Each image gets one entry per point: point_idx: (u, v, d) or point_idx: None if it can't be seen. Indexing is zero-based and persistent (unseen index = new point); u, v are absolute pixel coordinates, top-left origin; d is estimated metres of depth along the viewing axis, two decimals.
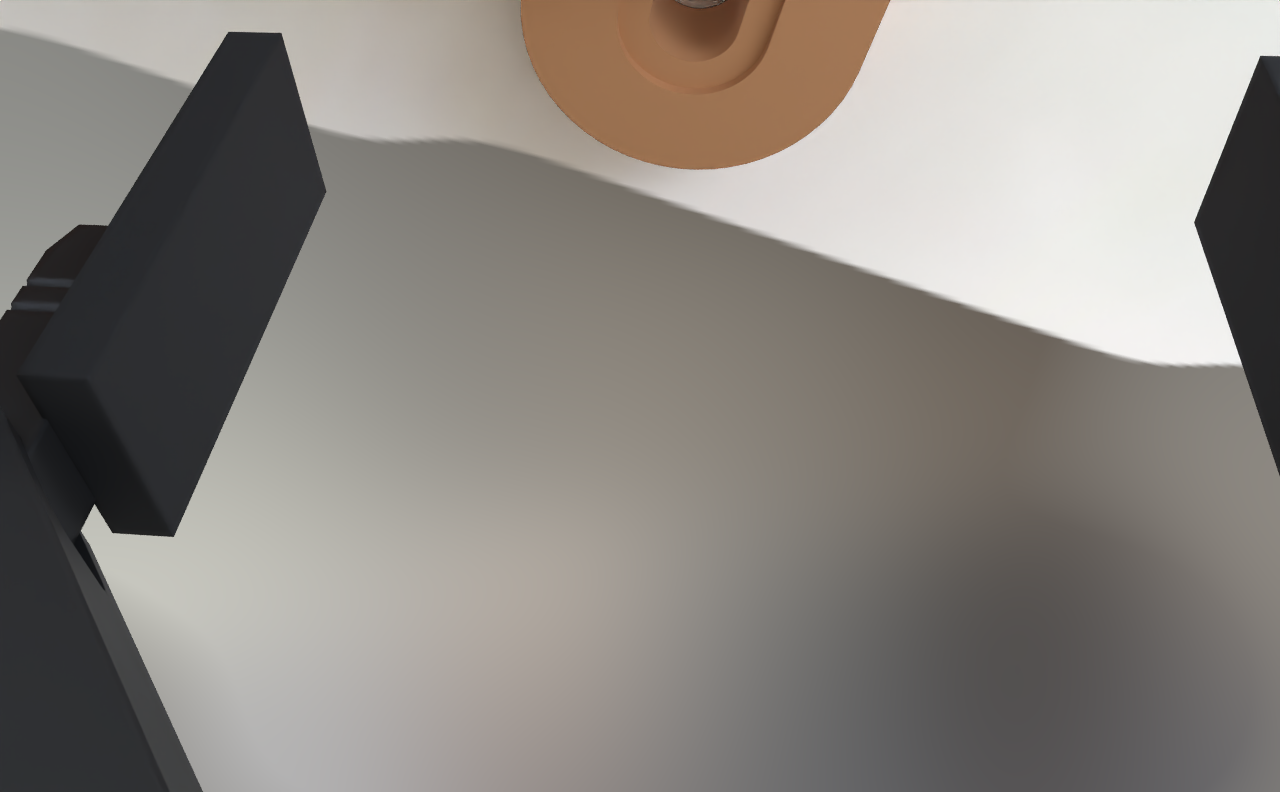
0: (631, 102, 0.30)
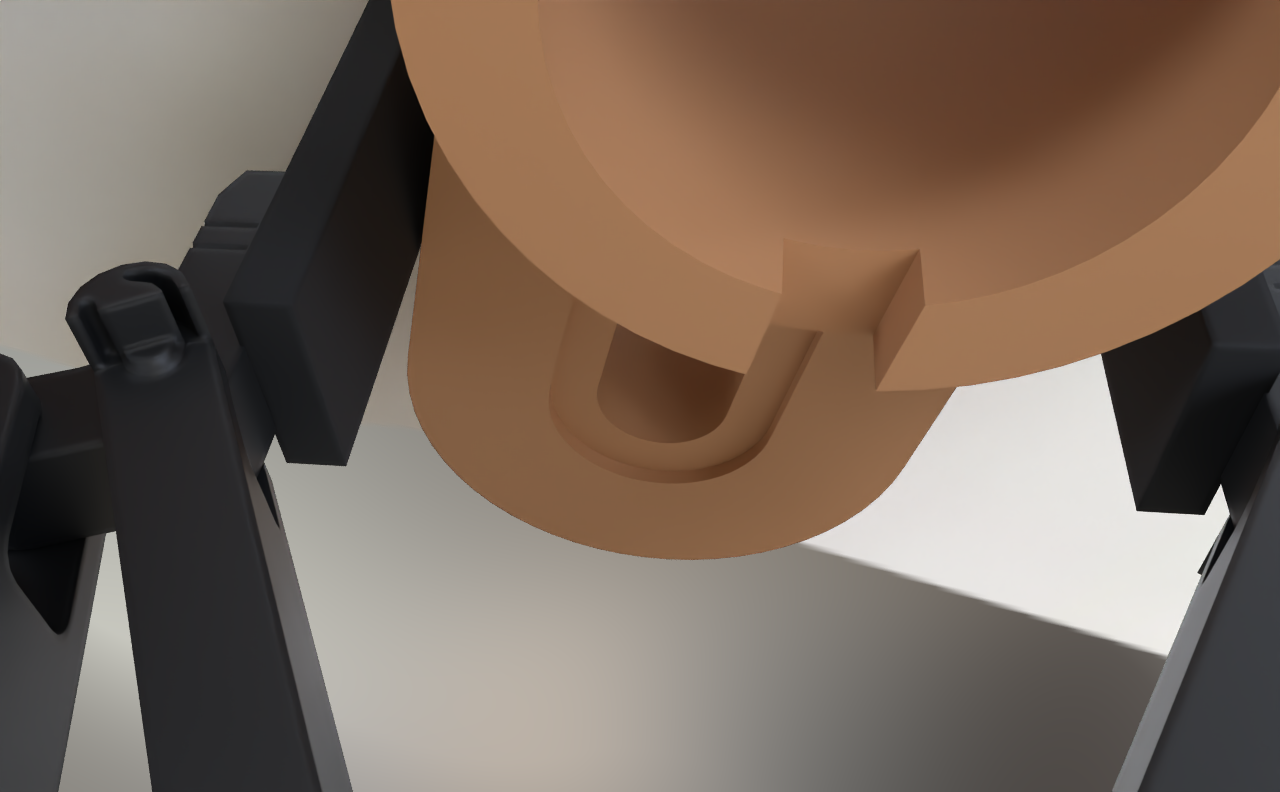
0: (576, 488, 0.21)
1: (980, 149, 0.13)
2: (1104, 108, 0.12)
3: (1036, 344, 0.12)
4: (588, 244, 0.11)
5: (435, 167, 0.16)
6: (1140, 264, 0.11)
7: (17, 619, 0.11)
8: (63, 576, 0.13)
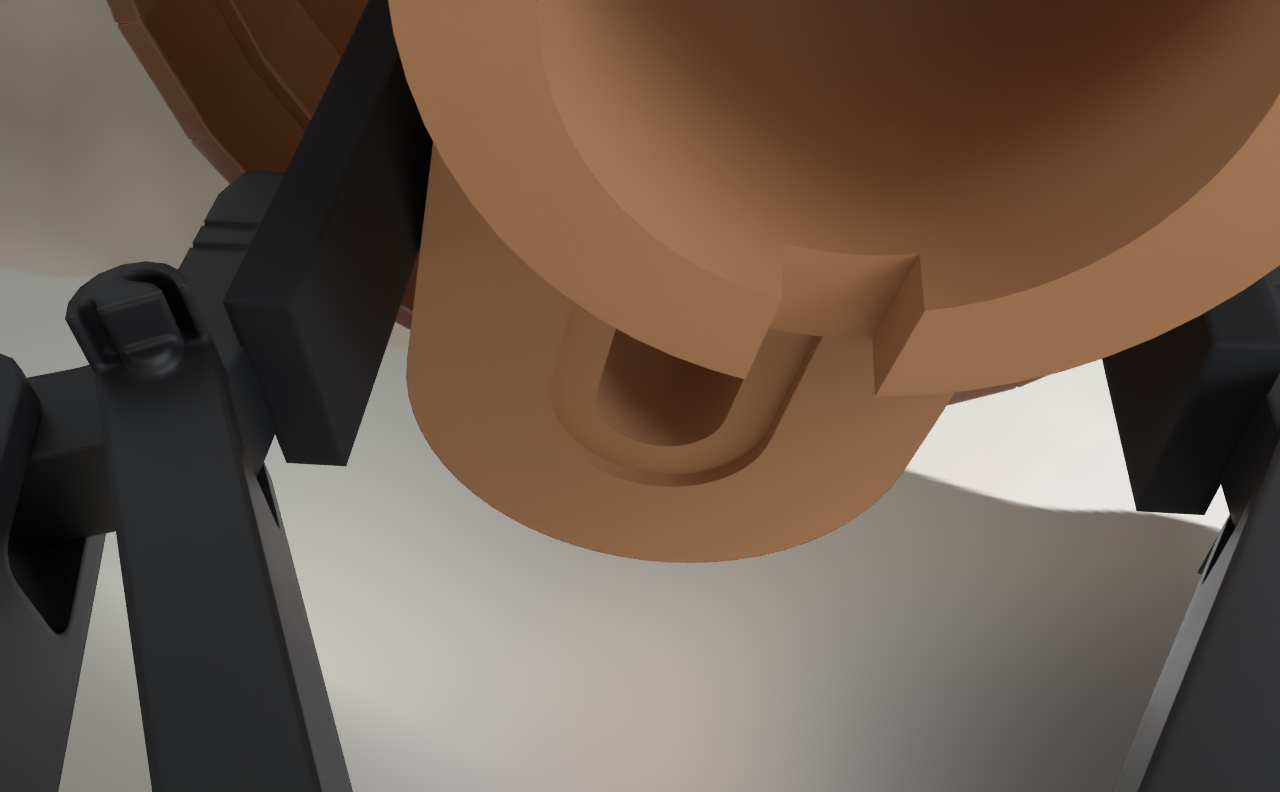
0: (575, 491, 0.21)
1: (980, 153, 0.13)
2: (1104, 112, 0.12)
3: (1036, 349, 0.12)
4: (586, 249, 0.11)
5: (434, 170, 0.16)
6: (1141, 269, 0.11)
7: (17, 619, 0.11)
8: (63, 576, 0.13)
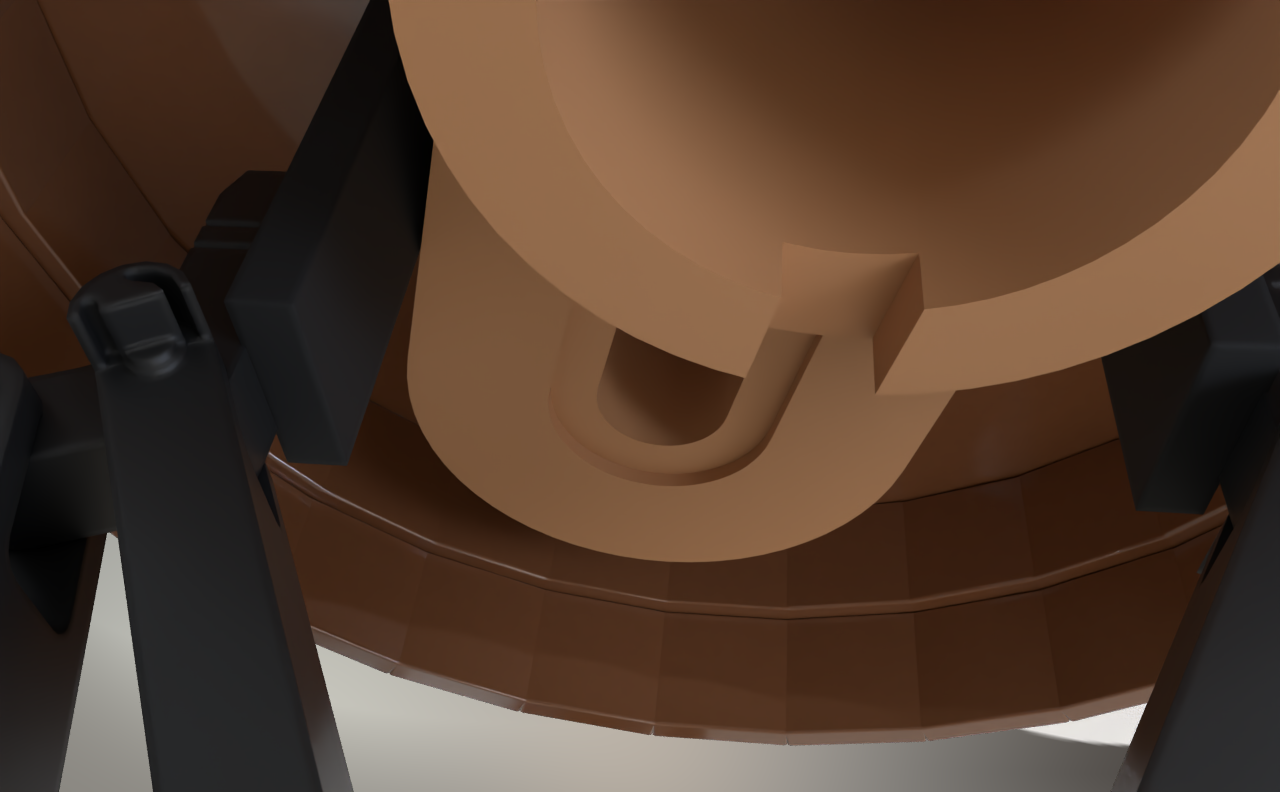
0: (576, 491, 0.21)
1: (979, 152, 0.13)
2: (1103, 111, 0.12)
3: (1035, 348, 0.12)
4: (587, 247, 0.11)
5: (434, 170, 0.16)
6: (1140, 267, 0.11)
7: (18, 619, 0.11)
8: (64, 576, 0.13)
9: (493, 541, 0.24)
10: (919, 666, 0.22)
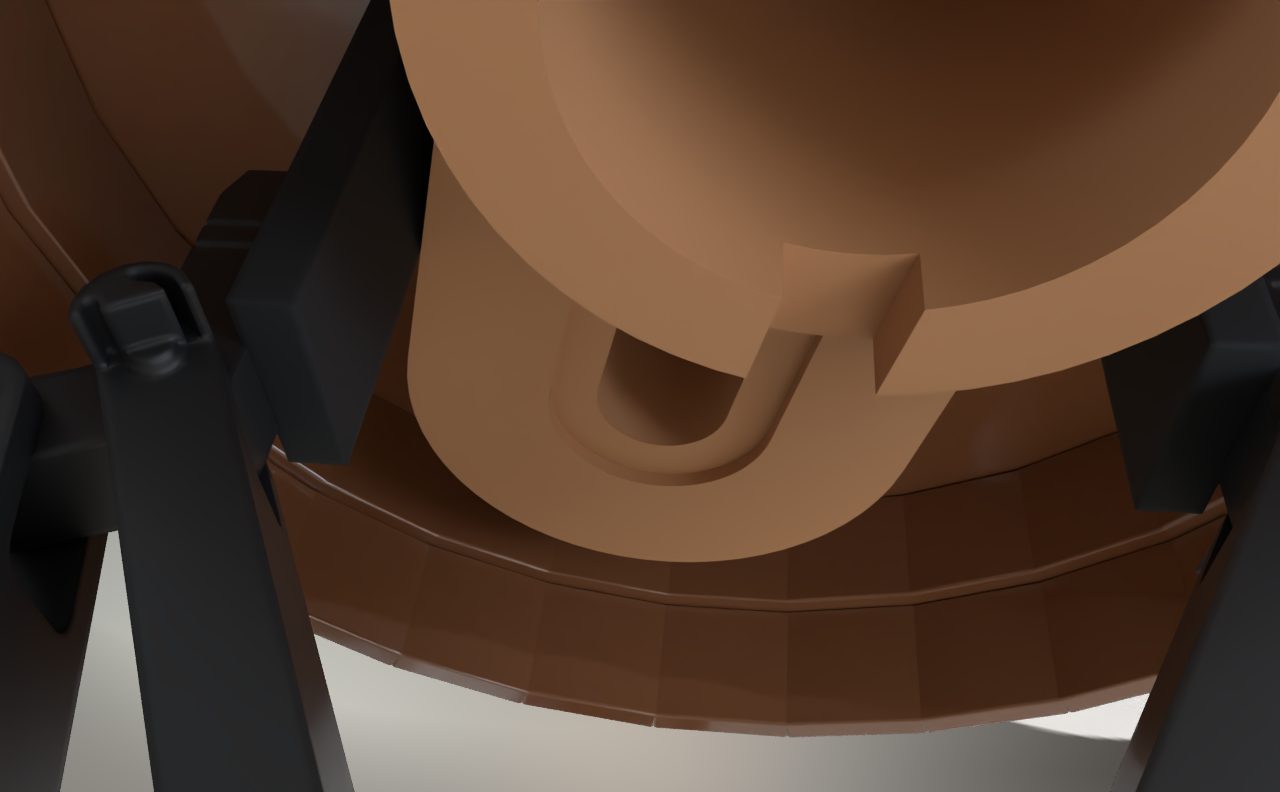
0: (576, 491, 0.21)
1: (980, 153, 0.13)
2: (1104, 112, 0.12)
3: (1036, 348, 0.12)
4: (588, 249, 0.11)
5: (435, 170, 0.16)
6: (1140, 268, 0.11)
7: (19, 618, 0.11)
8: (65, 575, 0.13)
9: (495, 534, 0.24)
10: (919, 658, 0.23)
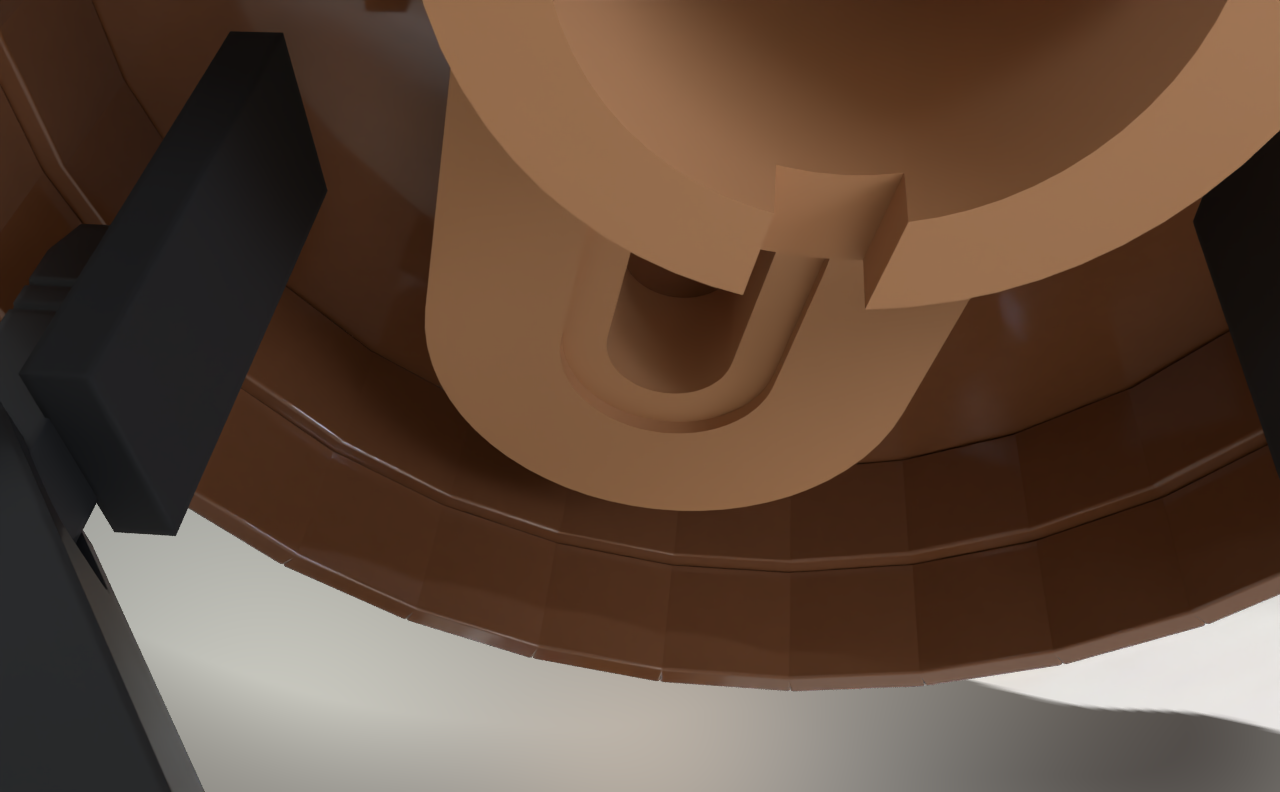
0: (587, 440, 0.22)
1: (962, 82, 0.13)
2: (1076, 37, 0.13)
3: (1014, 258, 0.12)
4: (591, 167, 0.12)
5: (449, 120, 0.17)
6: (1108, 176, 0.12)
7: None
8: None
9: (506, 495, 0.25)
10: (918, 614, 0.23)
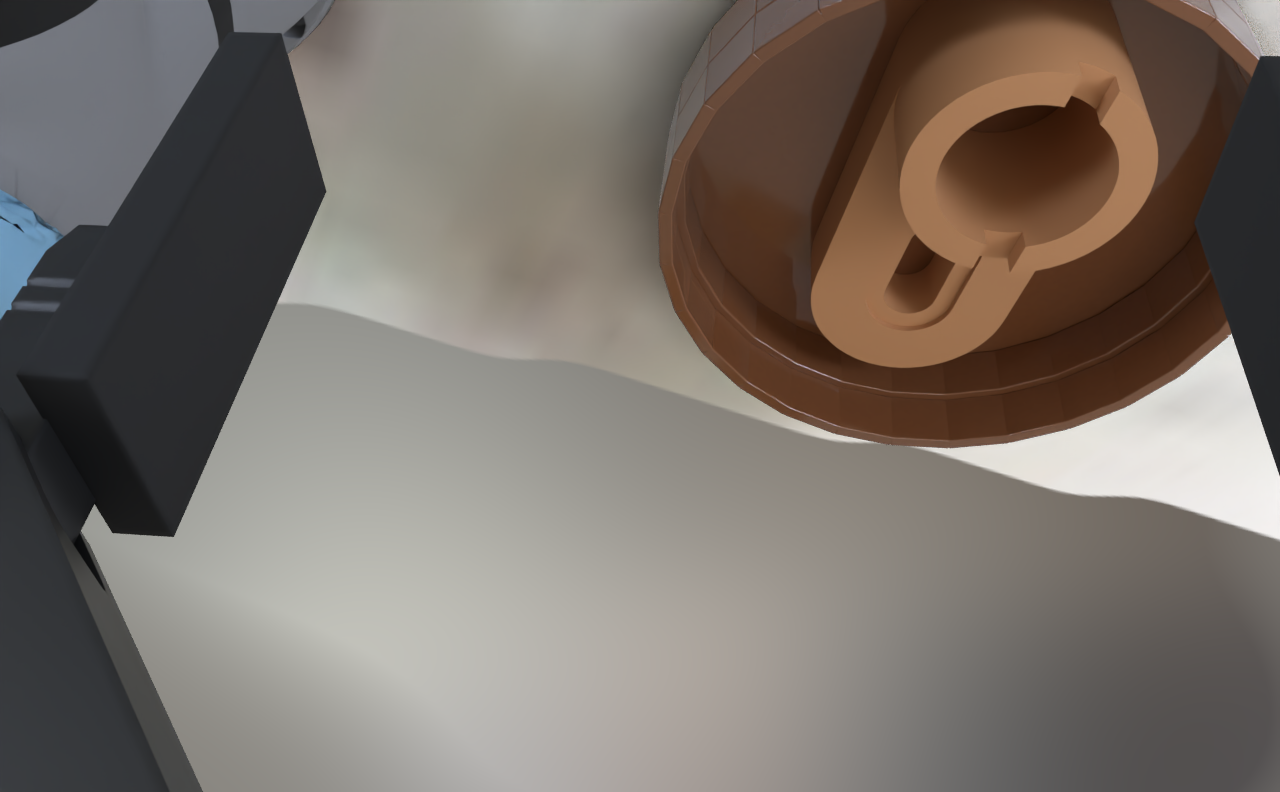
0: (868, 334, 0.52)
1: (1038, 202, 0.43)
2: (1074, 191, 0.42)
3: (1056, 257, 0.42)
4: (934, 231, 0.42)
5: (848, 207, 0.47)
6: (1083, 234, 0.41)
7: None
8: None
9: (817, 364, 0.54)
10: (1005, 413, 0.53)
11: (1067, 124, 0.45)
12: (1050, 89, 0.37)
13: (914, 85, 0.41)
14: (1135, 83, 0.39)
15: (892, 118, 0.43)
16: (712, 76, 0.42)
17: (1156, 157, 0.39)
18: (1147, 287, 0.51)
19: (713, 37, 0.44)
